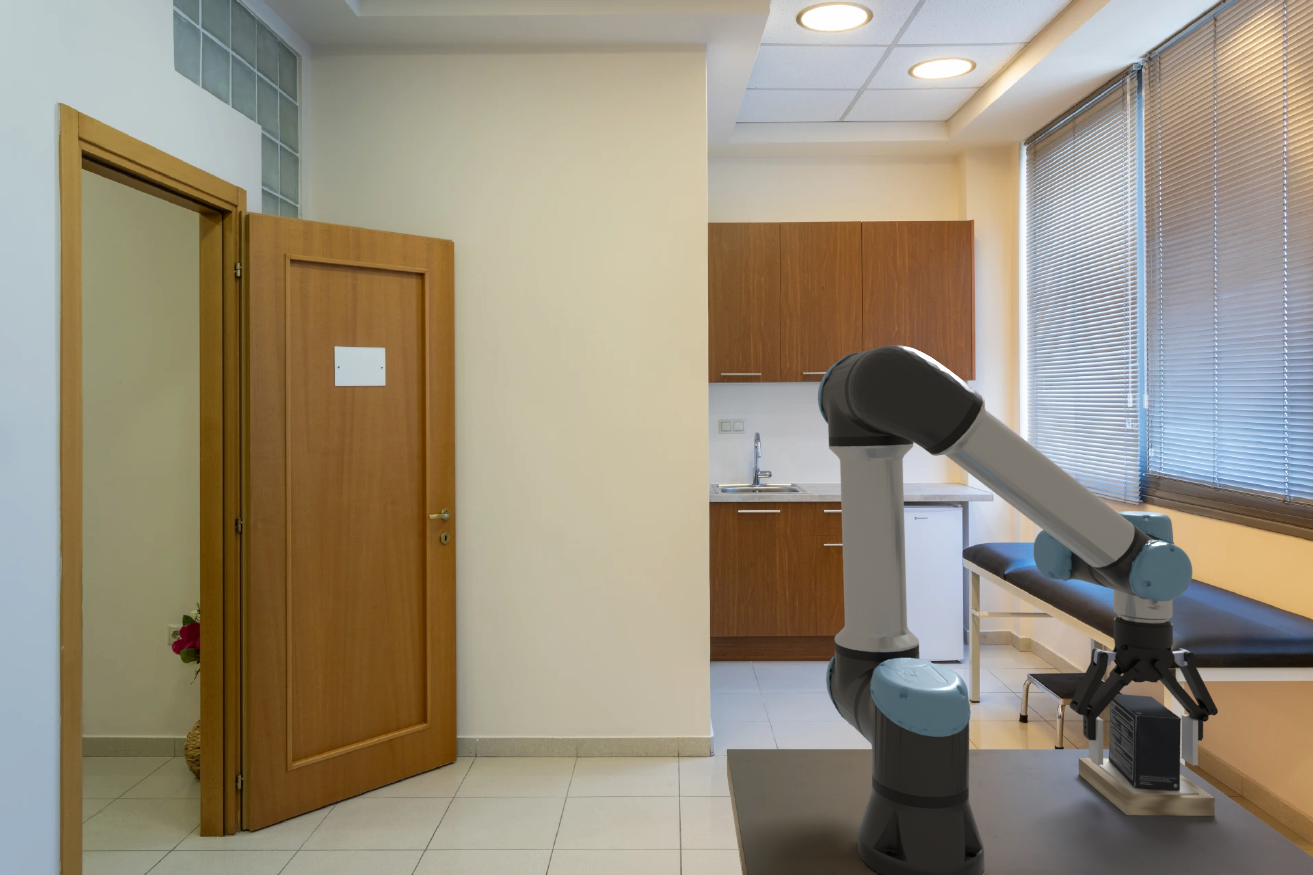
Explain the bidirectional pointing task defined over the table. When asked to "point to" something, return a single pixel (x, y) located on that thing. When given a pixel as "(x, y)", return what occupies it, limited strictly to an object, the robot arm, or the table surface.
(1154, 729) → the small box
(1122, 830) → the table surface
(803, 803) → the table surface
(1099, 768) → the beech picture frame
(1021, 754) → the table surface
